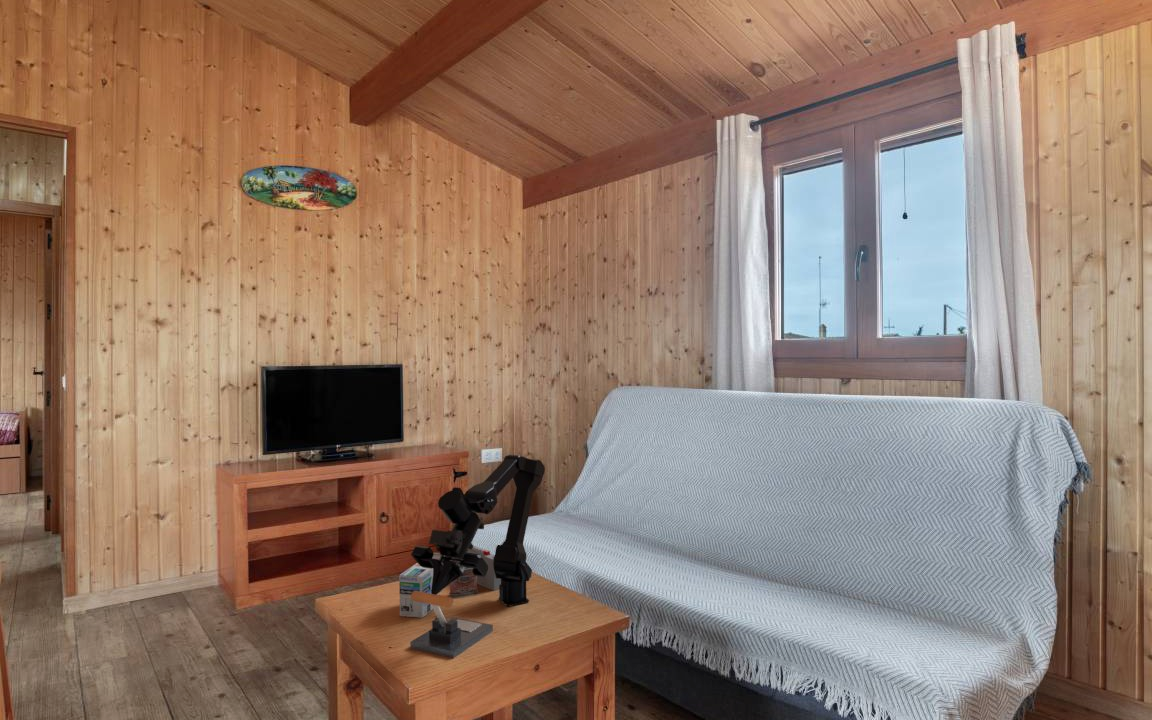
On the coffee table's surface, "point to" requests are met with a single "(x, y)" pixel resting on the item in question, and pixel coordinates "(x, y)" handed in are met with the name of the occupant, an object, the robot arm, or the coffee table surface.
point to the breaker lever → (434, 603)
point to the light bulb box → (415, 581)
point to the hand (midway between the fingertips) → (433, 594)
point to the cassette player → (490, 578)
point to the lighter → (464, 584)
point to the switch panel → (455, 645)
